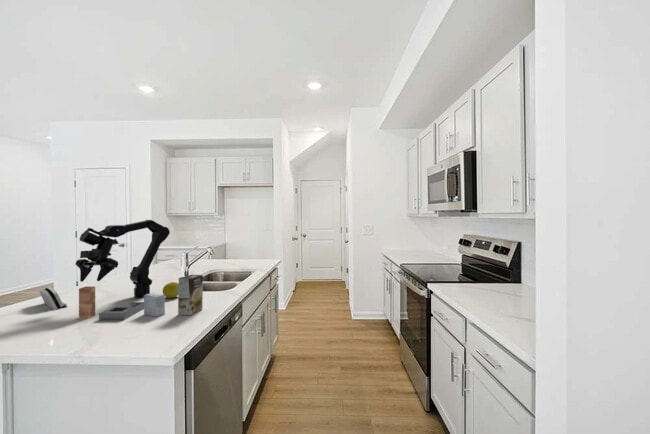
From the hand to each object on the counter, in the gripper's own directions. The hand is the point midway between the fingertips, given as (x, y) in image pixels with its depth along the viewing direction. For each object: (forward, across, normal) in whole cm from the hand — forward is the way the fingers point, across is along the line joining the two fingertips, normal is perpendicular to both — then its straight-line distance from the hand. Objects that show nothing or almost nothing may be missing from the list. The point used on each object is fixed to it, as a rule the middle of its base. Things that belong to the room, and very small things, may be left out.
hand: (89, 281), depth 143 cm
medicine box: (+13, +31, +10) cm, 35 cm away
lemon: (-1, +20, +32) cm, 38 cm away
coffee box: (+10, +44, +16) cm, 48 cm away
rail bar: (+13, +18, +6) cm, 23 cm away
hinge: (+10, -24, +7) cm, 27 cm away
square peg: (+16, +6, 0) cm, 17 cm away
